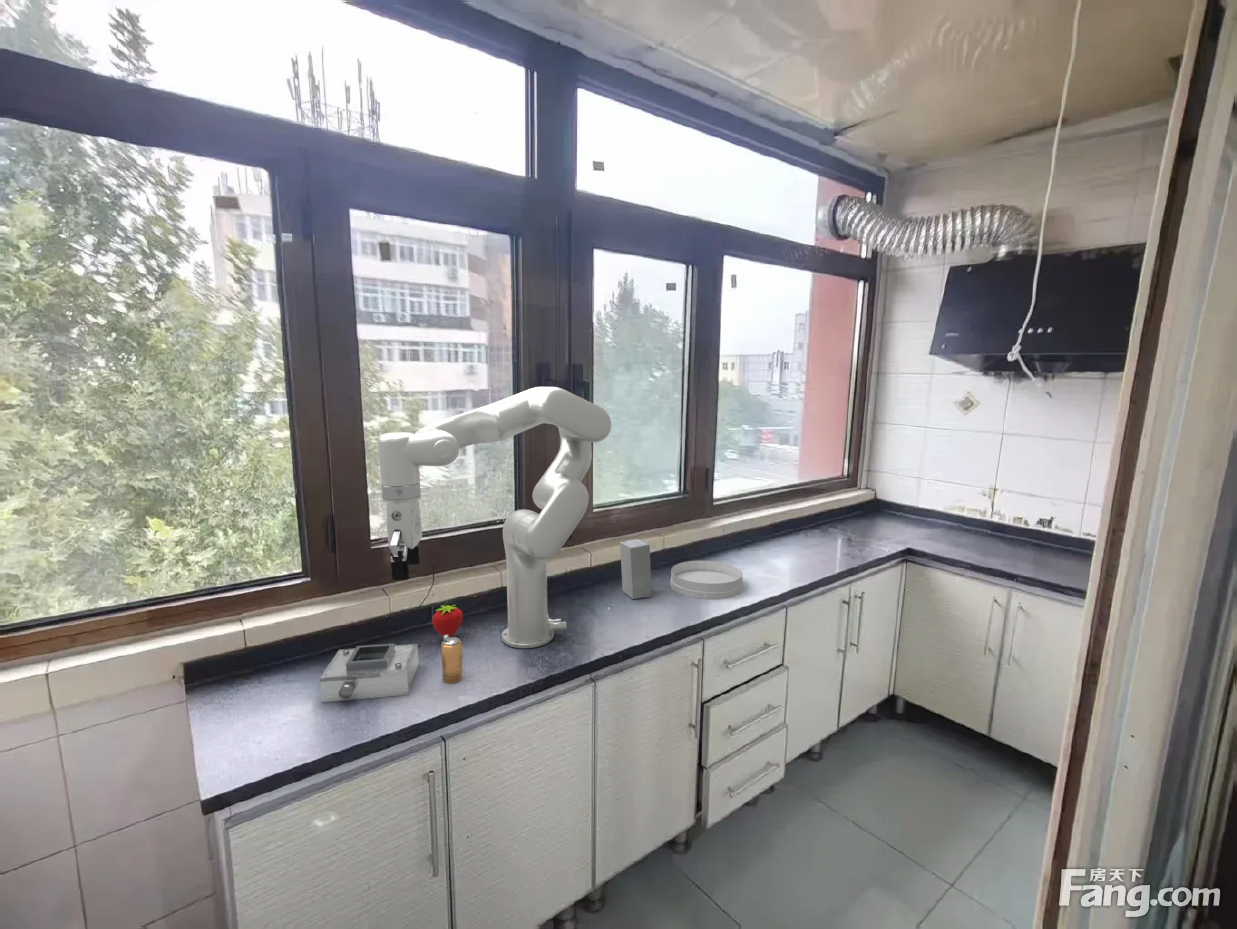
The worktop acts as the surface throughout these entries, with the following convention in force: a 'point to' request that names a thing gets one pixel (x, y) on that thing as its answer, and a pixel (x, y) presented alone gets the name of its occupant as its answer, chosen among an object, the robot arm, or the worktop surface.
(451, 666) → the spout can
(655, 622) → the worktop surface
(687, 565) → the dish
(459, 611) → the strawberry
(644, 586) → the skincare box
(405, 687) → the plate
